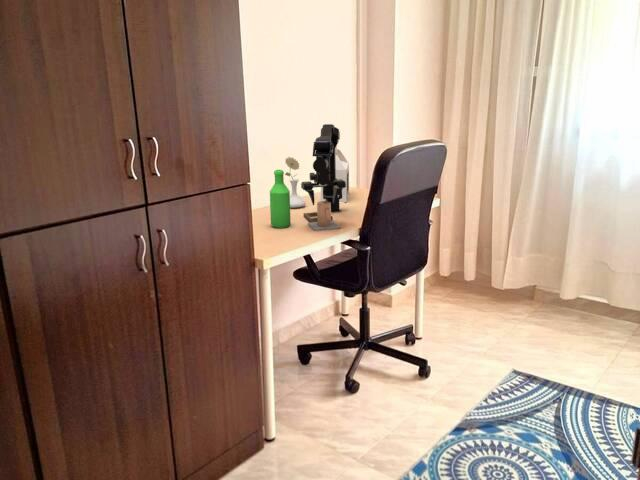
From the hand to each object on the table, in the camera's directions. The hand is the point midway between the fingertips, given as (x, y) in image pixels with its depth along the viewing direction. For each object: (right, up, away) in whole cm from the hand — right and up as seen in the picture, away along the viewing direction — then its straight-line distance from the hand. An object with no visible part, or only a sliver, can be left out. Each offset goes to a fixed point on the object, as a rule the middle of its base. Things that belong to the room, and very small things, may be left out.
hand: (323, 204), depth 247 cm
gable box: (+7, +7, +58) cm, 58 cm away
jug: (0, -9, +3) cm, 10 cm away
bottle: (-19, -10, +5) cm, 22 cm away
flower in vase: (-15, +1, +41) cm, 44 cm away
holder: (-3, -6, +16) cm, 17 cm away
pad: (0, -10, +3) cm, 10 cm away
